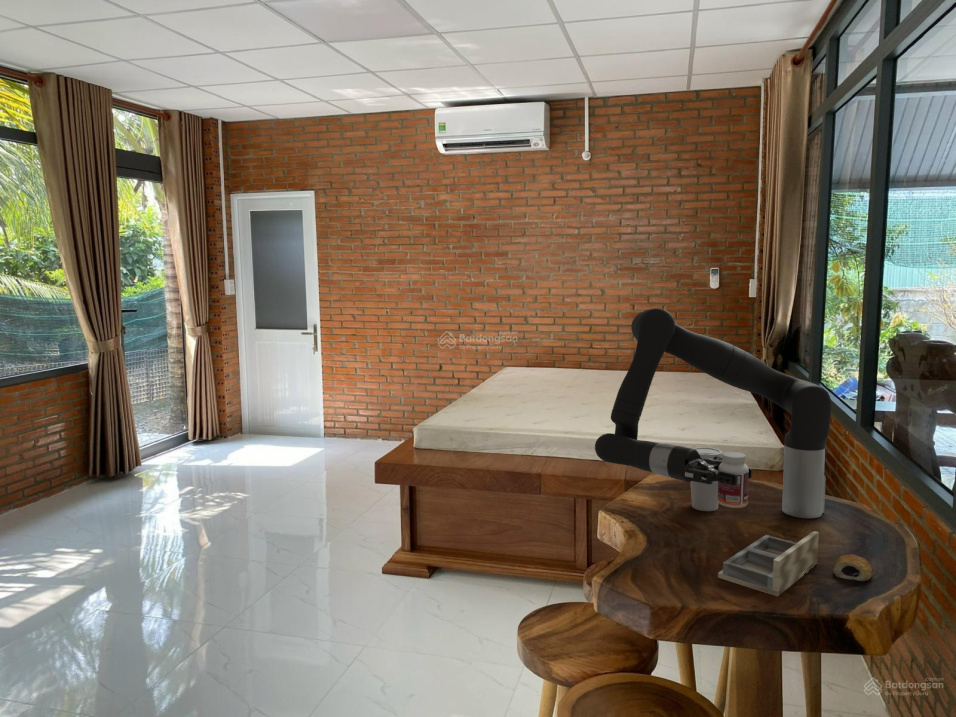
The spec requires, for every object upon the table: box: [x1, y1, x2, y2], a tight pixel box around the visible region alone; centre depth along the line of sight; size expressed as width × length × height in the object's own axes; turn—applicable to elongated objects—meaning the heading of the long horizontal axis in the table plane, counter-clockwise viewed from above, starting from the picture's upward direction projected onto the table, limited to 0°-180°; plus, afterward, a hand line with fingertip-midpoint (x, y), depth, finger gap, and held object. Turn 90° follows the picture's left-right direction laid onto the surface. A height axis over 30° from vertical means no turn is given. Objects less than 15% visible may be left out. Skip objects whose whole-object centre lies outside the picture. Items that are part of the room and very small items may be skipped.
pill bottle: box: [718, 451, 750, 509], centre depth 152 cm, size 6×6×11 cm
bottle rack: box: [717, 530, 820, 598], centre depth 145 cm, size 20×12×7 cm, turn 135°
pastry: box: [832, 553, 873, 582], centre depth 144 cm, size 9×7×4 cm
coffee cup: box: [689, 446, 724, 512], centre depth 183 cm, size 10×10×15 cm
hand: (744, 477), depth 150 cm, fingers closed on pill bottle, 6 cm apart
